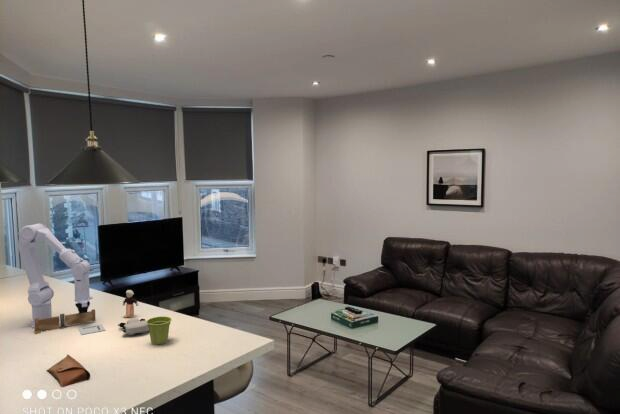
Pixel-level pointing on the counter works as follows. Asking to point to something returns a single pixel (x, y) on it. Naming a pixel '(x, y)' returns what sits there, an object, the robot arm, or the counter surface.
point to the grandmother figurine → (129, 304)
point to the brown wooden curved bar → (77, 318)
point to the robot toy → (134, 326)
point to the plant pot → (159, 329)
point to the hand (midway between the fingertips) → (83, 318)
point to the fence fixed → (47, 324)
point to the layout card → (91, 329)
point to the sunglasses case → (69, 372)
